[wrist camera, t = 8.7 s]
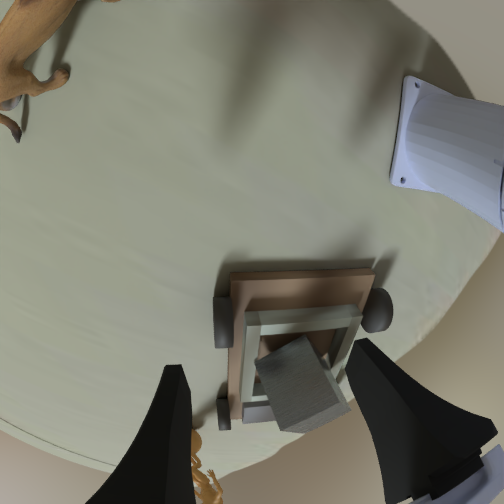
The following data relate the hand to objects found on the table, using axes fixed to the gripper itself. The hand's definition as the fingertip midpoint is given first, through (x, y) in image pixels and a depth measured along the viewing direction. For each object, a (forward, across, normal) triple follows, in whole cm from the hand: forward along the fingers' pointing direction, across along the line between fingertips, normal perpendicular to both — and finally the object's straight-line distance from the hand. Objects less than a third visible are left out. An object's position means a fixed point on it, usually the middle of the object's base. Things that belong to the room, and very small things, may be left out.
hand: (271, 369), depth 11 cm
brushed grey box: (+8, -4, +10) cm, 13 cm away
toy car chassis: (+9, -4, +12) cm, 16 cm away
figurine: (+10, +8, +26) cm, 29 cm away
